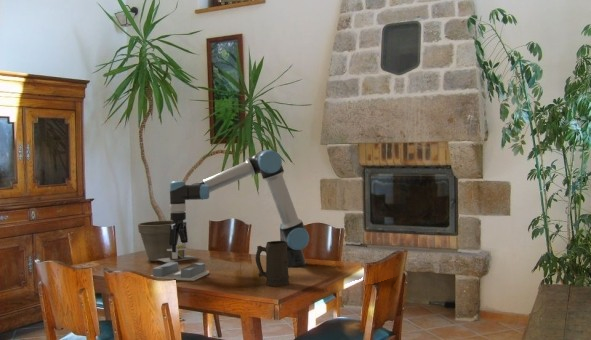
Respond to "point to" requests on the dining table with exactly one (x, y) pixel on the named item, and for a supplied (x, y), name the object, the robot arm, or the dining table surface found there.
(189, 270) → the tray with grey blocks
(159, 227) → the plant pot
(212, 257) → the dining table surface
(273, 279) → the beer stein
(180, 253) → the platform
